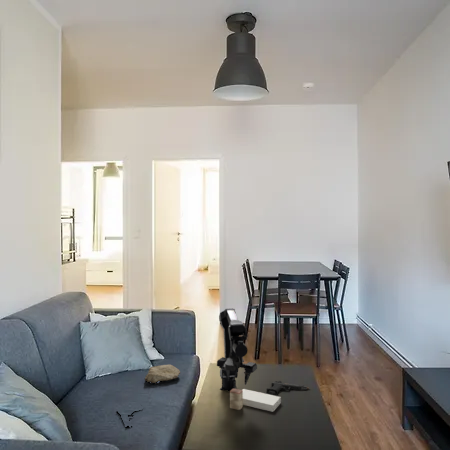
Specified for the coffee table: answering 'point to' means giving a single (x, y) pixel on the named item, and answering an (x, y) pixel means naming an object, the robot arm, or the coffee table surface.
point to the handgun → (283, 387)
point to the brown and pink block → (236, 399)
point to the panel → (260, 400)
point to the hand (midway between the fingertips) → (236, 382)
